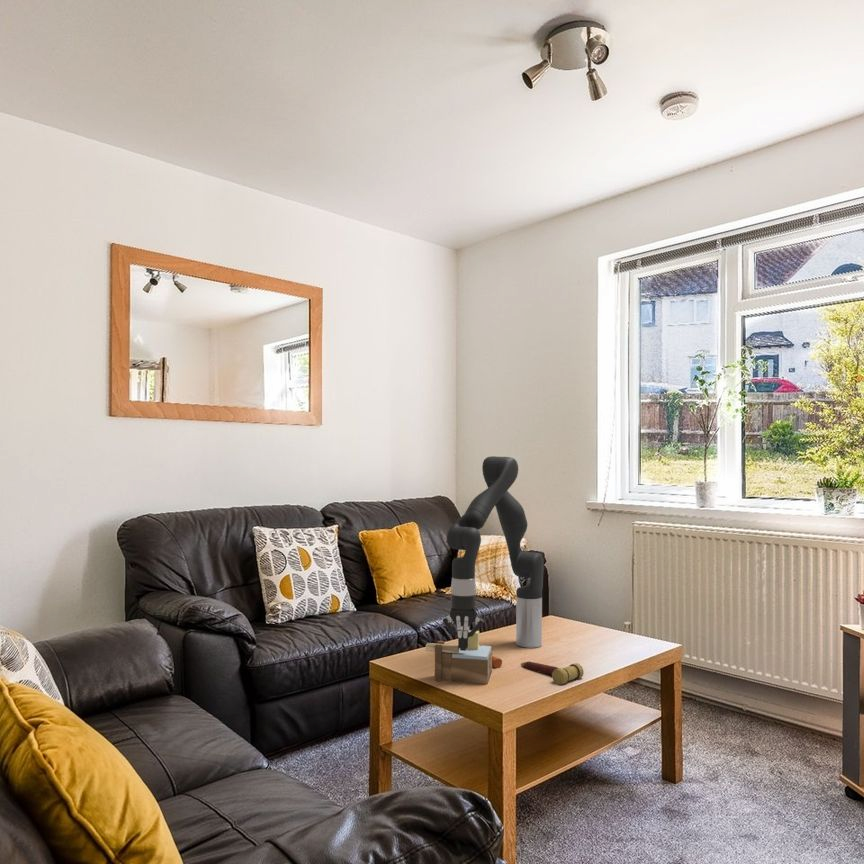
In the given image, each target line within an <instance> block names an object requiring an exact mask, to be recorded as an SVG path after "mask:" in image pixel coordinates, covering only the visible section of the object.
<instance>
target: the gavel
mask: <svg viewBox="0 0 864 864" xmlns="http://www.w3.org/2000/svg"><path fill="white" fill-rule="evenodd" d="M520 665H521V666H522V667H523V668H525V669H527V670H530V671H535V672H538V673H542V674H548V675H551V678H552V681H553V682H554V683H555V684H558V685H564V684H567V683H568V682H570V681H573V680H575V678H576V679H577V680H579V679H581V678H583V677H584V669H583V665H581V664H580V663H578V662H574V663H571V664H569V665H568V666H565V667H557V666H553V665H548V664H542V663H539V662H535V661H534V662H533V661H524V662H521V663H520Z"/></svg>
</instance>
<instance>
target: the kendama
mask: <svg viewBox="0 0 864 864" xmlns="http://www.w3.org/2000/svg"><path fill="white" fill-rule="evenodd" d="M502 666H503V660H502V658H499V657H496V656H494V655H492V668H495V669H501V667H502Z"/></svg>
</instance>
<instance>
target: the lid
mask: <svg viewBox="0 0 864 864" xmlns="http://www.w3.org/2000/svg"><path fill="white" fill-rule="evenodd" d="M471 630H472V629H471ZM471 630H470V629H469V632H470V631H471ZM491 649H492V646H490V645H480V630H477V631H476V633H475V634H474V635H473V636H472V637H468V647H467V649H466V650H465V651H462V650H460V648H459V652H458V653H453V654H452V658H463V659H478V660H487V659H488V657H489V654H490V652H491Z"/></svg>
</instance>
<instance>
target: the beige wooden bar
mask: <svg viewBox="0 0 864 864" xmlns="http://www.w3.org/2000/svg"><path fill="white" fill-rule="evenodd" d="M435 644H437V643H436V642H435V643H433V642H432V643H431V642H427V643H426V645H425V651H426V652H434V653H435ZM439 645H442V652H448V653H458V652H459V647H458V644H449V643H448V644H447V643H444V644H439Z"/></svg>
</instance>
